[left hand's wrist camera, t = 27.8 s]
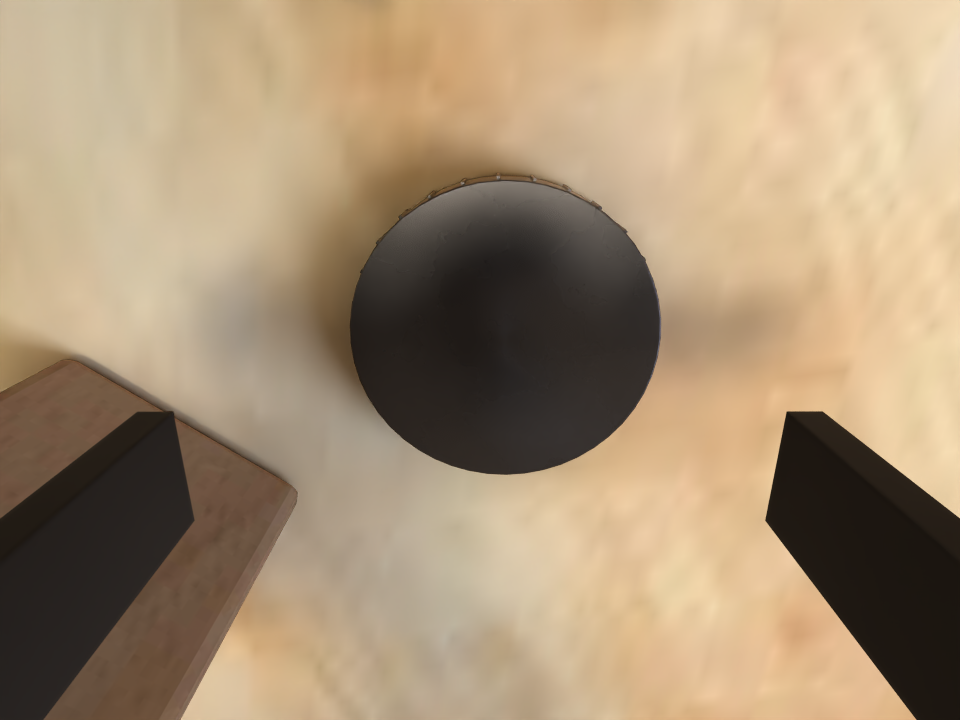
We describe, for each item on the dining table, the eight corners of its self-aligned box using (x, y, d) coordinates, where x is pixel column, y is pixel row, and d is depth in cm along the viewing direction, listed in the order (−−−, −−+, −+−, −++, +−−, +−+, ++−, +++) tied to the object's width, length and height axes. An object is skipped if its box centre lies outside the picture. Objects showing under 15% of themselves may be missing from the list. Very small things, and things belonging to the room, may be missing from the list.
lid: (655, 430, 22) (670, 458, 21) (393, 463, 23) (384, 493, 21) (639, 149, 19) (655, 151, 17) (329, 200, 20) (312, 207, 18)
